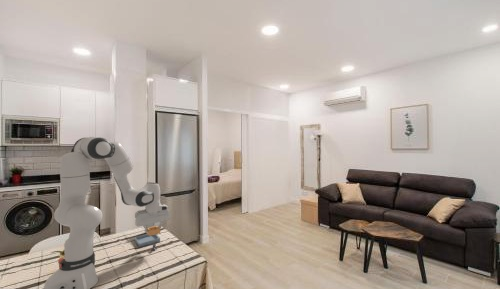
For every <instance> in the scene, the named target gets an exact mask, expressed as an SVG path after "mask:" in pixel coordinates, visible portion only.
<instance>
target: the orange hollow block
mask: <svg viewBox="0 0 500 289" xmlns="http://www.w3.org/2000/svg"><path fill="white" fill-rule="evenodd" d="M145 234H148V235H149V236H152V235H156V234H157V235H158V234H161V229H160V228H159V227H158V226H154V227H149V228H148V232H145Z"/></svg>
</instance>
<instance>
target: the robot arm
mask: <svg viewBox="0 0 500 289" xmlns="http://www.w3.org/2000/svg"><path fill="white" fill-rule="evenodd" d="M60 160H61V161H60V166H59V167H60V168H59V177H60V189H61V190H60V192H61V193H60V200H59V205H58V206H57V208H55V210H54V214H53V219H54V220H55V222H57V223H58V224H59V225H61V226H64V227H69V229H70V230H69V231H70V232H69V236H68V238H67V239H66V240H65V241H64V244H63V245H64V247H63V248H64V249H63V251H64V258H63V257H61V258H59V259H58V261H57V263H58V269H57V270H56V271H55V272H54V273H52V274H51V275H50V276H49V277H47V279H46V281H45V283H44V284H43V288H42V289H91V288H93V287H94V286H95V285H96V284H98V282H99V277H98V274H97V271H96V267H95V266H96V265H95V263H96V254H95V253H96V252H95V251H94V236H95V232H96V230H97V229H96V228H97V227H98V226H99V225H100V224H101V223H102V222H103V221H102V220H103V217H104V216H103V211H102V210H101V209H100V208H98V207H96V206H95V205H91V204H87V203H86V198H87V195H88V194H89V192H90V191H91V177H90V175H91V174H90V163H91V162H92V160H104V161H106V164H107V166H108V168H109V169H110V170H111V172H112V175H113V178H114V181H115V183H116V185H117V187H118V189H119V191H120V196H121V202H122V203H123V204H124V205H126V206H134V207H139V208H141V207H142V208H143V207H145V208H144V209H141V210H139V209H138V210H137V211H136V212H134V218H135V221H134V224H135V226H136V228H137V227H143V228H144V232H145V233H146V232H148V228H146V225H148V224H153V223H157V222H160V225H159V226H158V227H159V228H160V230H161V229H162V226H163V223H164V222H167V221H170V218H171V214H170V213H171V212H170V210H169V206H168V205H167V204H164V203H161V188H160V184H159V183H157V182H150V181H149V182H146V184H144V186H143V187H142V188H139V189H137V188H134V187H133V186H132V185H131V182H130V181H129V177H128V174H130V173H131V172H132V171H133V167H134V164H133V161H132V159H131V157H130V154H129V153H128V152H127V150H126V149H125V147H124V146H123V145H122V144H121V142H119V141H110V140H108V139H106V138H104V137H95V136H89V137H88V136H87V137H82V138H79V139H78V140H76V141H75V142H74V143H73V146H72V149H71V150H70V152H67V153H65V154H64V155H62V157H61V159H60Z"/></svg>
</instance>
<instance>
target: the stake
mask: <svg viewBox="0 0 500 289" xmlns="http://www.w3.org/2000/svg"><path fill="white" fill-rule="evenodd" d="M157 250H158V248H157V245H156V243H153V244H152V248H151V251H152V252H155V251H157Z"/></svg>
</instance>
